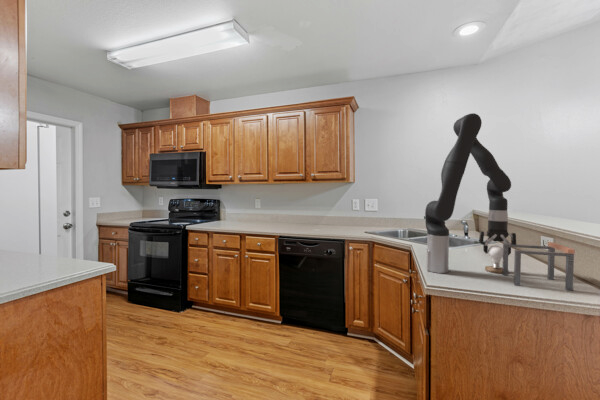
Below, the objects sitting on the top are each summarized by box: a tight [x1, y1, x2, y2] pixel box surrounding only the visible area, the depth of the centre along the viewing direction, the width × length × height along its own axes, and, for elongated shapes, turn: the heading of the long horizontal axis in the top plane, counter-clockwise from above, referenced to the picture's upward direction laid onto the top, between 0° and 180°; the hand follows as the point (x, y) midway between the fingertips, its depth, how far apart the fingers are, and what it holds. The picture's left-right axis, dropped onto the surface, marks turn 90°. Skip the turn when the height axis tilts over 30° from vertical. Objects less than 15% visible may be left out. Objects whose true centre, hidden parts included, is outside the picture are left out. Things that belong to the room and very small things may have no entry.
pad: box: [484, 265, 503, 275], centre depth 132 cm, size 9×9×1 cm
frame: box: [501, 243, 575, 292], centre depth 116 cm, size 18×16×14 cm
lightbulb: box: [488, 244, 503, 269], centre depth 132 cm, size 6×6×11 cm
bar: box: [547, 241, 576, 255], centre depth 113 cm, size 2×16×2 cm, turn 159°
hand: (496, 254), depth 131 cm, fingers open, 8 cm apart
